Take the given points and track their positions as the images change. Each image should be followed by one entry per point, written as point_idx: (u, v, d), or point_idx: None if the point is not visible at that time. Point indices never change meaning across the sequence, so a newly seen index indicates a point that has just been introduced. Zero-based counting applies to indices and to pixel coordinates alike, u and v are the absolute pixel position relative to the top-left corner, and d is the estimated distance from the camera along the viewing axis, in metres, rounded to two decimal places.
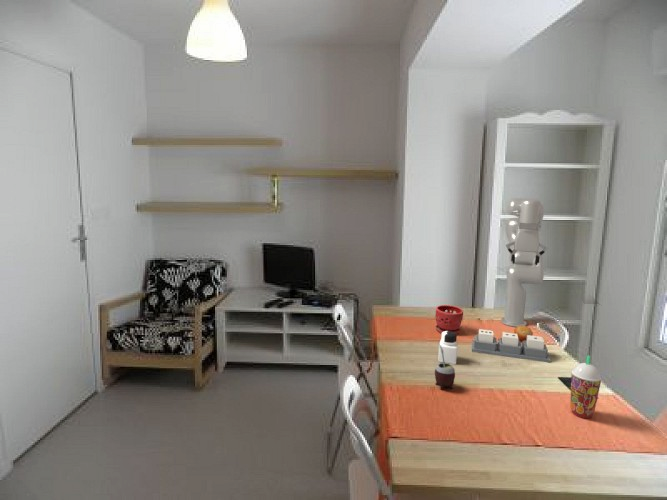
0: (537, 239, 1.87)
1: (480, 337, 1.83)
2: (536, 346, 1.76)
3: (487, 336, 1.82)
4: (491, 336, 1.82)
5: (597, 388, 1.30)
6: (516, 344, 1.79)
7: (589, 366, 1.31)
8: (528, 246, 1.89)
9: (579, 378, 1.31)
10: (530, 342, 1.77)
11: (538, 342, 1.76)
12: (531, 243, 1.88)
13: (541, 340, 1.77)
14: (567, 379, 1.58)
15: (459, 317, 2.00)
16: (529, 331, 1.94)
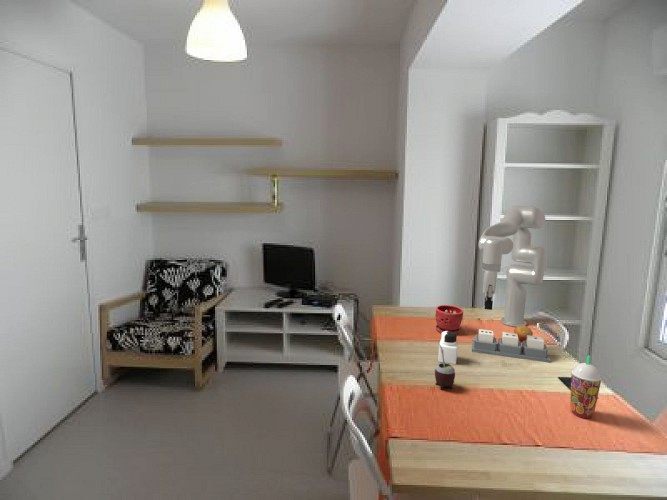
0: None
1: (480, 337, 1.83)
2: (536, 346, 1.76)
3: (487, 336, 1.82)
4: (491, 336, 1.82)
5: (597, 388, 1.30)
6: (516, 344, 1.79)
7: (589, 366, 1.31)
8: None
9: (579, 378, 1.31)
10: (530, 342, 1.77)
11: (538, 342, 1.76)
12: None
13: (541, 340, 1.77)
14: (567, 379, 1.58)
15: (459, 317, 2.00)
16: (529, 331, 1.94)
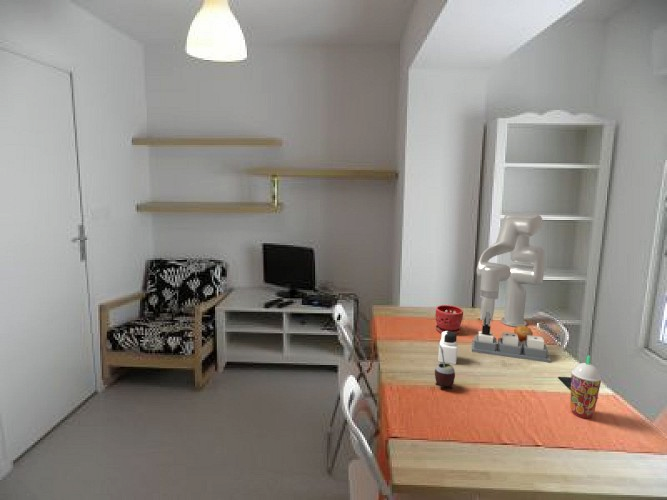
0: None
1: (480, 339, 1.83)
2: (536, 346, 1.76)
3: (487, 338, 1.82)
4: (491, 338, 1.82)
5: (596, 388, 1.30)
6: (516, 344, 1.79)
7: (589, 366, 1.31)
8: None
9: (579, 378, 1.31)
10: (530, 342, 1.77)
11: (538, 342, 1.76)
12: None
13: (541, 340, 1.77)
14: (567, 379, 1.58)
15: (459, 317, 2.00)
16: (529, 331, 1.94)
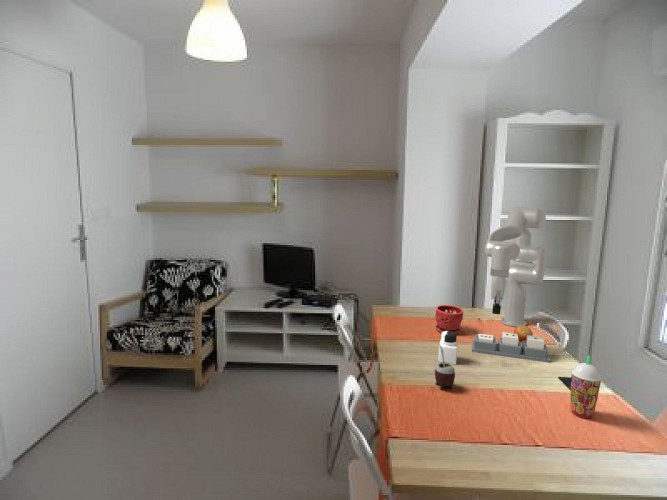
0: None
1: None
2: (536, 346, 1.76)
3: (487, 341, 1.83)
4: (491, 341, 1.82)
5: (596, 388, 1.30)
6: (516, 344, 1.79)
7: (589, 366, 1.31)
8: None
9: (579, 378, 1.31)
10: (530, 342, 1.77)
11: (538, 342, 1.76)
12: None
13: (541, 340, 1.77)
14: (567, 379, 1.58)
15: (459, 317, 2.00)
16: (529, 331, 1.94)
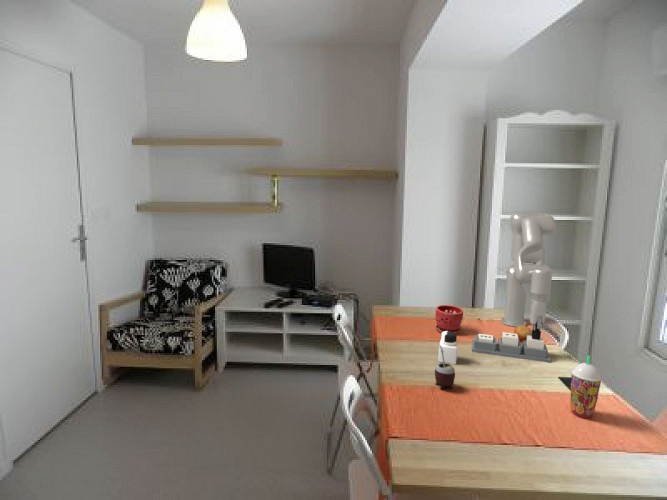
0: None
1: None
2: (536, 346, 1.76)
3: (487, 341, 1.83)
4: (491, 341, 1.82)
5: (596, 388, 1.30)
6: (516, 344, 1.79)
7: (589, 366, 1.31)
8: None
9: (579, 378, 1.31)
10: (530, 342, 1.77)
11: (538, 342, 1.76)
12: None
13: (541, 340, 1.77)
14: (567, 379, 1.58)
15: (459, 317, 2.00)
16: (529, 331, 1.94)
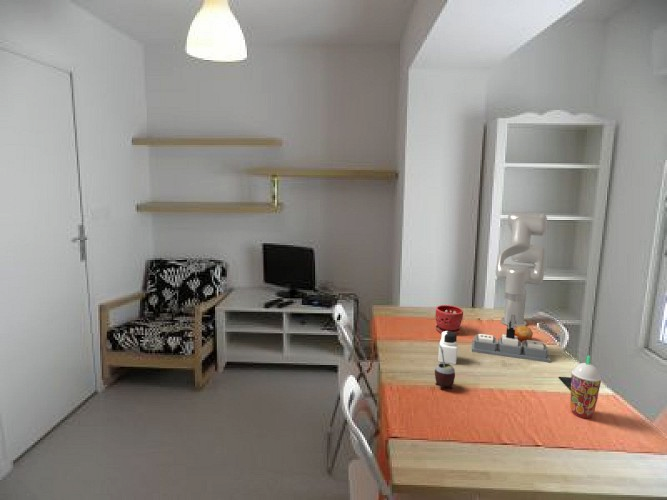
0: None
1: None
2: None
3: (487, 341, 1.83)
4: (491, 341, 1.82)
5: (597, 388, 1.30)
6: None
7: (589, 366, 1.31)
8: None
9: (579, 378, 1.31)
10: (530, 347, 1.77)
11: (538, 347, 1.76)
12: None
13: (540, 345, 1.77)
14: (568, 379, 1.58)
15: (459, 317, 2.00)
16: (529, 331, 1.94)
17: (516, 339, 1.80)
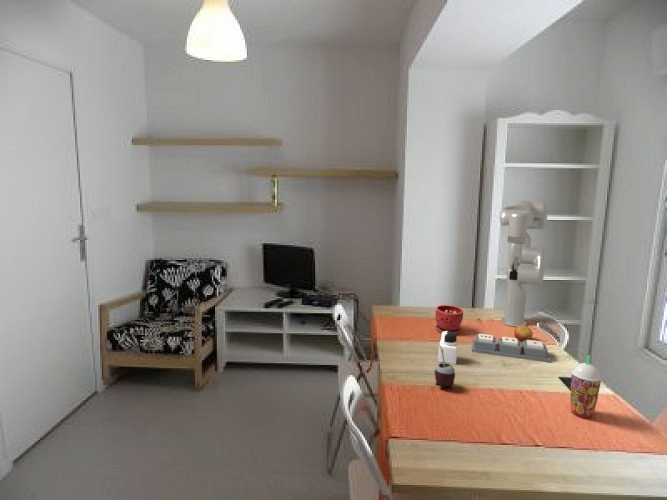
0: None
1: None
2: None
3: (487, 341, 1.83)
4: (491, 341, 1.82)
5: (596, 388, 1.30)
6: None
7: (589, 366, 1.31)
8: None
9: (579, 378, 1.31)
10: (530, 347, 1.77)
11: (538, 347, 1.76)
12: None
13: (540, 345, 1.77)
14: (568, 379, 1.58)
15: (459, 317, 2.00)
16: (529, 331, 1.94)
17: (516, 341, 1.80)
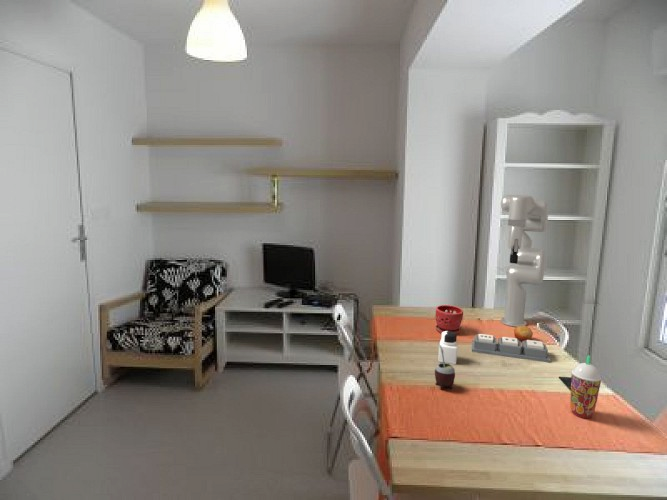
0: None
1: None
2: None
3: (487, 341, 1.83)
4: (491, 341, 1.82)
5: (597, 388, 1.30)
6: None
7: (589, 366, 1.31)
8: None
9: (579, 378, 1.31)
10: (530, 347, 1.77)
11: (538, 347, 1.76)
12: None
13: (540, 345, 1.77)
14: (568, 379, 1.58)
15: (459, 317, 2.00)
16: (529, 331, 1.94)
17: (516, 341, 1.80)
